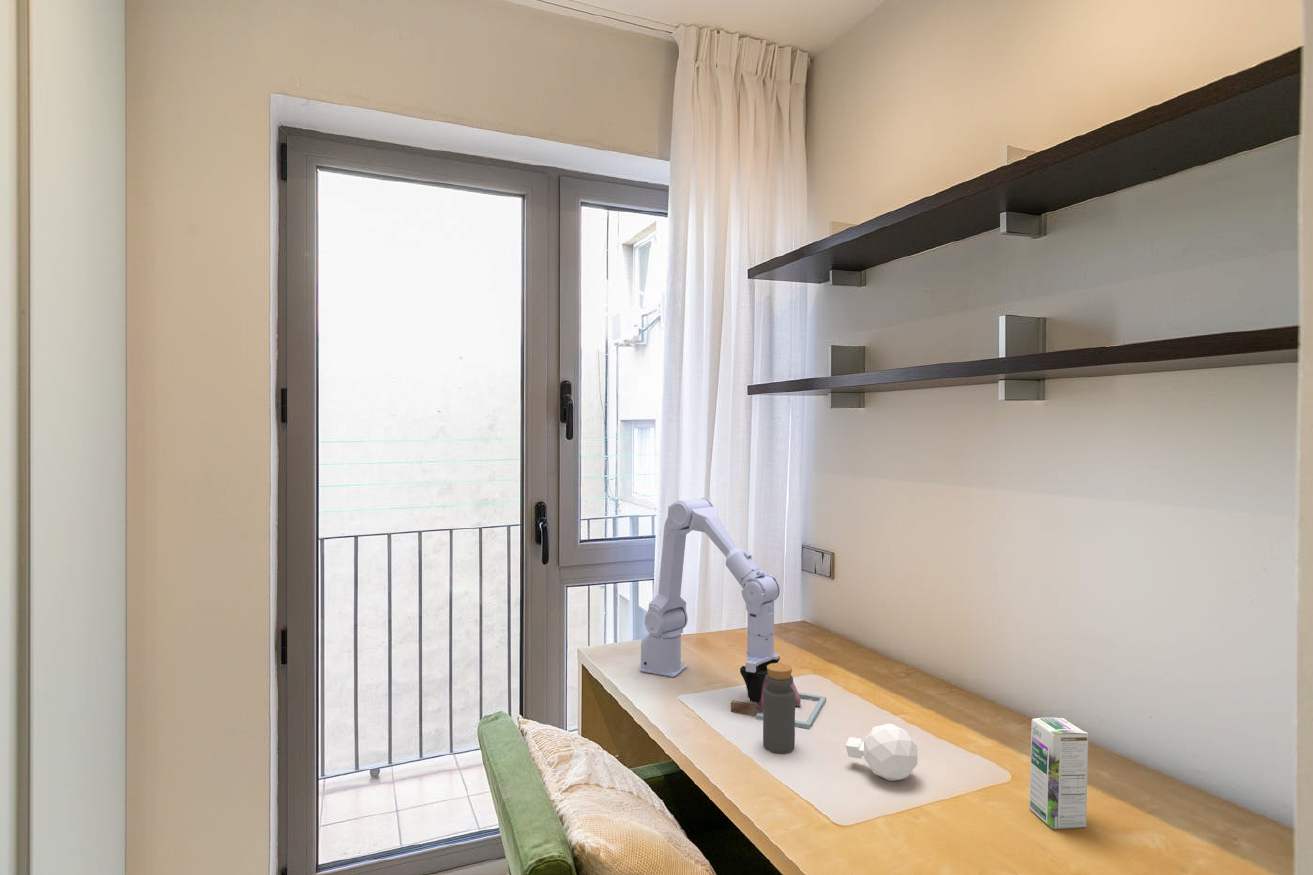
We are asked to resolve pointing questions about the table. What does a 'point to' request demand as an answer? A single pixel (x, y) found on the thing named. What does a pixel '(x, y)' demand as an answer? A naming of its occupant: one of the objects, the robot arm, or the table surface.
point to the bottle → (779, 709)
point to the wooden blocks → (743, 707)
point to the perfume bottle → (886, 751)
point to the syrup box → (1058, 773)
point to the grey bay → (812, 716)
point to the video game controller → (797, 697)
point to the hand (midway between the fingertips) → (760, 695)
